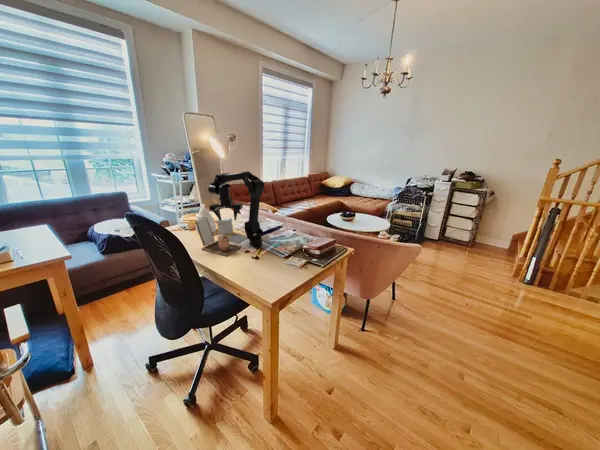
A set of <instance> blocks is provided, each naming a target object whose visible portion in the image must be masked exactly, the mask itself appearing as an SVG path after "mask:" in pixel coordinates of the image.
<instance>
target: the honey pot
mask: <svg viewBox="0 0 600 450" xmlns="http://www.w3.org/2000/svg"><path fill="white" fill-rule="evenodd" d="M200 207H201V208H200V209H199V211H198V213H196V215H195V217H196V221H198V220H201V219H202V217H204V218H206V217H207V219H208V222H209V225H210V228H211V231H212V234H213V233H215V232H216V231H217V223H216V221H215V219H214V217H213V216H212V215H213V214H212V213H211V212H210V210H209V209H207V208H206V204H204V203H203V204H202V203H201V204H200ZM195 232H196V234H198V235H199V232H198V229H197V226H196V224H195Z"/></svg>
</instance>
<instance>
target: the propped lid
mask: <svg viewBox="0 0 600 450" xmlns="http://www.w3.org/2000/svg"><path fill="white" fill-rule="evenodd" d="M194 222H195V225H196V226H197V229H198V232H199V234H198V235H199V237H200V240H201V244H202V247H205V246H207V245H209V244H211V243H213V242H216V241H215V238H214V235H213V233H212V231H211V228H210V225H209V222H208V219H207V217H206V218H203V219H201V220H198V221H194ZM196 226H195V227H196Z"/></svg>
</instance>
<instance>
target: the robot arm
mask: <svg viewBox="0 0 600 450" xmlns="http://www.w3.org/2000/svg"><path fill="white" fill-rule="evenodd" d="M239 180H242V181H243V183H244V186H246V187H247V190H248V194H249V195H250V200H249V213H248V214H249V216H248V221H245V222H244V232H245V236H247V240H249V246H250V247H251V248H257V249H258V248H259V249H260V248H261V247H262V246H263V239H262V238H263V237H264V234H265V232H264V231H263V230H262V228H261V224H260V221H259V212H260V200H261V196H262V195H263V193H264V190H265V183H264V181H263V180H261V179H260V178H259V177H258V176H256V175H254V174H252V172H250V171H248V170H247V171H241V172H237V173H228V172H225V173H218V174H215V178H214V180H213V182H210V183H209V186H208V189H207V190H208V193H209V194H211V195H217V196H218V195H219V198H218V200H219V201H220V204H219V203H212V204H210V205H209V207H208V208H209V209H208V211H211V212H213V213H214V214H215V216H216V218H218V219H219V220H220V221H221V218H222V215H221V209H233V218H234V221H237V217H238V213H239V211H240V210H242V209H243V208H244V207H243V203H242V202H237V203H234V198H232V197H231V194H230V189H231V188H232V186H231V185H230V184H229V183H231V182H233V181H239Z"/></svg>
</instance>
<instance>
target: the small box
mask: <svg viewBox="0 0 600 450" xmlns="http://www.w3.org/2000/svg"><path fill="white" fill-rule="evenodd" d="M216 226H217V231H218V235H233V233H234V228H233V227H234V226H233V218H232V217H221V221H220V220H219V218H218V219H217V220H216Z"/></svg>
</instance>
